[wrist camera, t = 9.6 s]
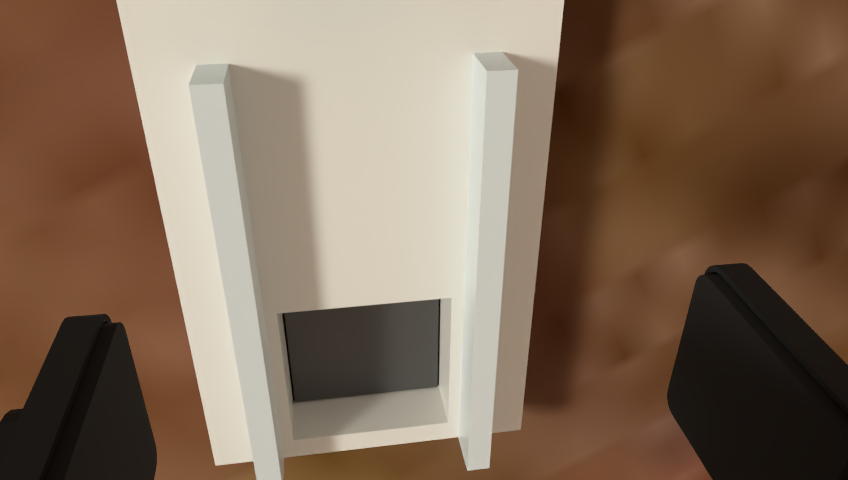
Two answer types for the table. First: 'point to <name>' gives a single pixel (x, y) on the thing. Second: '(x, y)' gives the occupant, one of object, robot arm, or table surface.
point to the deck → (350, 212)
